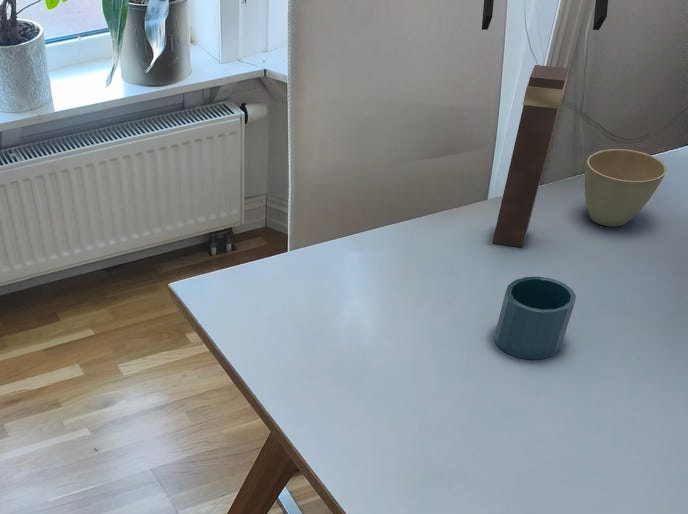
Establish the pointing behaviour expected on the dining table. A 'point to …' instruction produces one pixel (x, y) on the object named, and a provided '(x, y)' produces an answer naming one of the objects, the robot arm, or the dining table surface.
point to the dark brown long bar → (530, 153)
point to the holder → (534, 317)
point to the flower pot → (620, 184)
